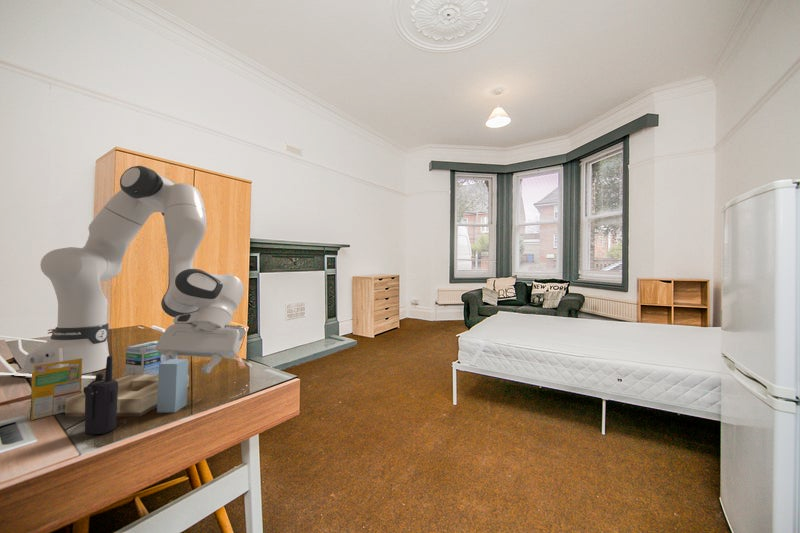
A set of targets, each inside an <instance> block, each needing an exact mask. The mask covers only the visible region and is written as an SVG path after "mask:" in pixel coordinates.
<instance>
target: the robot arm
mask: <svg viewBox="0 0 800 533" xmlns="http://www.w3.org/2000/svg"><path fill="white" fill-rule="evenodd" d="M119 186H120V187H119V188H120V190H119V191H117V192H116V193H115V194H114V195H113V196H112V197H111V198H110V199H109V200H108V201H107V202H106V204H105V205H104V206H103V207H102V209H101V210H99V212H98V214H97V215H96V216H95V218H93V220H92V221H91V222H90V224H89V225H88V232H89V233H88V236H87V239H86V240H87V241H86V242H85V245H84V246H83V247H77V246H75V247H74V246H72V247H61V248H58V249H53V250H51V251H49V252H47V253H45V255H43V257H42V258H41V260H40V266H39V267H40V269H41V271H42V274H44V275H45V277H46V278H48V279H49V280H50V282H51V285H52V286H53V289H54V292H55V295H56V299H57V325H56V327H55V328H52V329H48V330H47V331H48V332H47V334H51V335H50V338H49V340H47V341H46V342H44V343H42V344H41V345H40V346H38V347H37V348H35V349H32V350H31V351H30V352H28V353H27V355H26V356H25V359H24V365H23V367H21V368H18V369H16V370H15V371H16V372H20V373H29V374H32V372H34V366H35V365H41V364H48V363H55V362H61V361H68V360H74V359H81V358H82V375H83V374H88V373H93V372H97V371H98V372H99V371H101V370H104V369H105V370H106V362H107V357H108V356H110V353H109V345H108V335H109V331H110V330H109V329H110V325H109V323H108V312H109V311H108V310H109V309H108V308H109V301H108V298H107V297H106V296H105V295H104V292H103V290H102V287H101V282H107V281H108V280H111V279H113V278H115V277H117V276H118V275H119V274H120V273H121V272H122V269H123V263H122V262H123V260H124V257H125V255H126V253H127V250H128V248H129V246H130V244H131V243H132V241H133V240H134V238H135V237H136V236H137V234H138V233H139V232H140V230H141V229H142V228H143V226H144V225H145V224H146V222H147V220H148V219H149V218H150V216H151V215H153V214H154V213H161V215H162V216H163V221H164V222H163V223H164V228H165V236H166V243H167V244H166V245H167V252H168V253H167V254H168V283H167V284H168V286H167V289H166V292H165V293H164V295H163V297H162V299H161V304H160V305H161V308H162V310H163V312H164V313H165V314H167V315H168V316H169V317H173V319H172V322H173V324H171V325H170V326H168V327H167V328H166V329H165V330H164V332H163V333H162V334H161V336H160V337H159V339H158V342H157V344H156V350H157V351H158V352H159V353H160V354H162V355H165V356H166V361H168V360H170V359H175V358H176V356H178V357H196V358H212V359H211V360H210V361H209V362H208V363H204V364H203V366H202V368H201V370H200V371H201V372H202V374H210V373H211V372H212V369H213V368H214V367H215V366H216V365H218V364H219V363H220V362H221V360H222V359H234V358H236V357H237V356H238V354H239V351H240V348H241V345H242V340H243V339H244V337H245V335H246V333H247V330H246V328H245V327H243V325H235V324H233V325H232V324H231V322H232V320H233V317H234V313H235V311H237V309H238V308H239V305H240V303H241V301H242V298H243V297H244V291H245V287H244V283H243V281H242V280H241V278H239V277H237V276H235V275H233V274H230V273H224V274H214V273H211V272H209V273H208V272H206V271H205V270H202V269H199V268H194V259H195V255H196V253H197V250H198V248H199V246H200V244H201V243H202V240H203V239H204V237H205V235H206V231H207V223H208V222H207V221H208V220H207V211H206V206H205V203H204V200H203V197H202V195H201V192H200V190H198V188H197V187H195V186H194V185H192V184H189V183H184V182H179V183H177V182H175V181H173V180H171V179H169V178H167V177H165V176H163V175H161V174H159V173H158V172H156V171H155V170H153V169H151V168H149V167H146V166H143V165H135V166H131V167H129V168H127V169H126V170H125V171H124V172H123V173H122V174H121V176H120V179H119ZM66 366H69V364H68V363H67V364H57V365H54V366H49V369H52V368H61V367H66ZM26 378H30V379H32V377H26Z"/></svg>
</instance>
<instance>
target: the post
mask: <svg viewBox="0 0 800 533" xmlns="http://www.w3.org/2000/svg"><path fill="white" fill-rule="evenodd" d="M188 375H189V358H178V359H170V360H168V361H165V362H162V363H160V364H159V376H158V399H157V407H156V413H176V412H178V411H179V410H181V409H182V408H184V407H186V406H187V404H188V389H187V384H188Z"/></svg>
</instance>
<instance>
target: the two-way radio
mask: <svg viewBox="0 0 800 533" xmlns="http://www.w3.org/2000/svg"><path fill="white" fill-rule="evenodd" d="M104 374H105V376H104ZM94 378H95V380H93V381H91V382H90V383H89V384H87V386H84V387H83V392H84V393H85V416H84V433H86V434H90V435H100V434H101V435H103V434H106V433H110V432H111V431H113V430H115V428H116V426H117V425H116V423H117V422H116V421H117V416H116V413H117V398H118V382H117V381H116V379H113V356H112V355H109V356H108V357H107V362H106V368H105V372H104V373H103V372H98V373H96V375H95V377H94ZM83 392H82V393H83Z"/></svg>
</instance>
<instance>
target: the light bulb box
mask: <svg viewBox="0 0 800 533" xmlns="http://www.w3.org/2000/svg"><path fill="white" fill-rule="evenodd" d="M158 340H159V339H158ZM158 340H154V341H148V342H143V343H139V344H135V345H130V346H126V348H125V350H126V351H125V355H126V356H125V371H124V372H125V373H124V376H127V375H159V364H160V363H162V362H165V361H166V356H165V355H162V354H160V353H159V352H158V351H157V350H156V344H157V342H158ZM178 357H179V356H176V358H175V359H179V358H178Z"/></svg>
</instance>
